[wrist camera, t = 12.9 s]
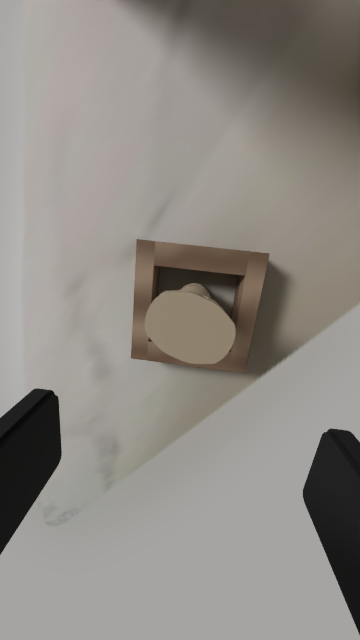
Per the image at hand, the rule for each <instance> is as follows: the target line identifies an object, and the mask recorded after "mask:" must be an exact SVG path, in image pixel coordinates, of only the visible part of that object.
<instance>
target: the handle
mask: <svg viewBox="0 0 360 640" xmlns="http://www.w3.org/2000/svg"><path fill="white" fill-rule="evenodd" d="M145 331H146V334H147V336H148V337H149V338H150V339H151V340H152V341H153V342H154V343H155V344H156V345H157V347H158V348H160V349H161V350H162V351H163V352H164V353H166V354H168V355H170V356H172V357H174V358H177V359H179V360H181V361H184V362H187V363H192V364H215V363H217V362H219V361H220V360H221V359H223V358H224V357H225V356H226V355H227V353H228V352H229V350H230V349H231V347H232V345H233V343H234V339H235V332H236V330H235V324H234V322H233V321H232V319H231V318H230V317H229V316H228V314H227V313H226V312H225V311H224V310H223V308H222V307H221V306H220V305H219V304H218V303H217V302H216V301H214V300H212V299H211V296H210V294H209V292H208V291H207V289H206V288H205V287H203V286H202V285H201V284H199V283H191V284H188V285H185V286H184V287H183V288H181V289H180V290H170V291H164V292H163V293H161V294H160V295H159V296H158V297H156V298H155V299H154V301H153V302H152V303H151V305H150V307H149V309H148V311H147V314H146V317H145Z"/></svg>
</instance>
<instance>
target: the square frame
mask: <svg viewBox="0 0 360 640" xmlns="http://www.w3.org/2000/svg"><path fill="white" fill-rule="evenodd" d="M268 258H269V254H268V253H259V252H249V251H240V250H231V249H222V248H212V247H203V246H194V245H185V244H175V243H166V242H157V241H148V240H138V239H137V247H136V267H135V288H134V309H133V329H132V350H131V358H133V359H141V360H148V361H156V362H164V363H171V364H179V365H187V366H194V367H202V368H210V369H218V370H225V371H233V372H241V373H245V370H246V365H247V360H248V355H249V350H250V345H251V340H252V336H253V331H254V326H255V321H256V316H257V311H258V307H259V302H260V297H261V292H262V287H263V282H264V277H265V273H266V268H267V263H268ZM160 266H164V267H173V268H182V269H191V270H200V271H209V272H217V273H226V274H235V275H238V280H237V286H236V291H235V297H234V303H233V309H232V314H231V319H232V321H233V322H234V324H235V330H236V332H235V339H234V343H233V345H232V347H231V349H230V350H229V352H228V353H227V355H226V356H225V357H224V358H223V359H221V360H220V361H219V362H217V363H215V364H192V363H187V362H184V361H181V360H179V359H177V358H174V357H172V356H170V355H168V354H166V353H164V352H163V351H162V350H161V349H160V348H158V347H157V345H156V344H155V343H154V342H153V341H152V340H151V339H150V338H149V337H148V336H147V334H146V331H145V317H146V314H147V311H148V309H149V307H150V305H151V303H152V302H153V301H154V299H155V298H156V297H158V284H159V271H160Z"/></svg>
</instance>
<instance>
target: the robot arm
mask: <svg viewBox="0 0 360 640" xmlns="http://www.w3.org/2000/svg"><path fill="white" fill-rule="evenodd" d="M60 459H61V435H60V418H59V400H58V396H56V395H55V394H54V392H53V391H52V390H45V389H34V390H32V391H31V392H30V393H29V394H28V395H27V396H25V397H24V398H23V399H22V400H21V401H20V402H18V403H17V404H16V405H15V406H14V407H13V408H11V409H10V410H9V411H8V412H7V413H6V414H4V415H3V416H2V417H1V418H0V554H1V553H2V551H3V550H4V548H5V546H6V545H7V543H8V542H9V540H10V539H11V537H12V536H13V534H14V533H15V531H16V529H17V528H18V526H19V525H20V523H21V522H22V520H23V519H24V517H25V515H26V514H27V512H28V511H29V509H30V508H31V506H32V505H33V503H34V502H35V500H36V499H37V497H38V495H39V494H40V492H41V491H42V489H43V488H44V486H45V485H46V483H47V481H48V480H49V478H50V477H51V475H52V474H53V472H54V471H55V469H56V468H57V466H58V464H59V462H60ZM303 498H304V502H305V505H306V507H307V509H308V512H309V514H310V517H311V519H312V521H313V524H314V526H315V529H316V531H317V533H318V536H319V538H320V541H321V543H322V545H323V547H324V550H325V553H326V555H327V557H328V560H329V562H330V565H331V567H332V569H333V572H334V574H335V576H336V579H337V581H338V584H339V586H340V589H341V591H342V593H343V596H344V598H345V601H346V603H347V605H348V608H349V610H350V613H351V615H352V617H353V620H354V622H355V624H356V627H357V629H358V632H359V634H360V442H359V441H358V440H357V439H356V438H355V436H354V435H353V434H352V433H351V432H349V431H345V430H338V429H329V430H328V431H327V432H324V433H323V434H322V437H321V440H320V443H319V446H318V448H317V451H316V454H315V457H314V460H313V463H312V466H311V469H310V471H309V474H308V477H307V480H306V483H305V486H304V489H303Z"/></svg>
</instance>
